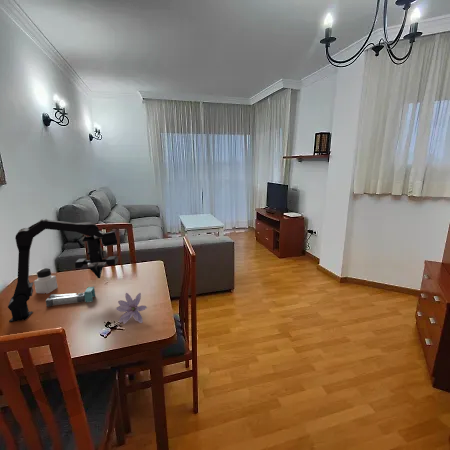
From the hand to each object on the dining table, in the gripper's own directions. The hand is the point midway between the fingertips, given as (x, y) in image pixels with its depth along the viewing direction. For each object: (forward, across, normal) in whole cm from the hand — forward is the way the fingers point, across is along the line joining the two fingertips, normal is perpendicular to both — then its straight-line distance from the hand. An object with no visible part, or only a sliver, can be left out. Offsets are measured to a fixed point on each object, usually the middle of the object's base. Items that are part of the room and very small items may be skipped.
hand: (99, 277), depth 129 cm
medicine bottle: (+10, +32, -13) cm, 36 cm away
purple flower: (+11, -19, +22) cm, 31 cm away
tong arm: (+10, +18, +1) cm, 20 cm away
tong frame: (+10, +16, +3) cm, 19 cm away
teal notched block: (+10, +5, +2) cm, 12 cm away
